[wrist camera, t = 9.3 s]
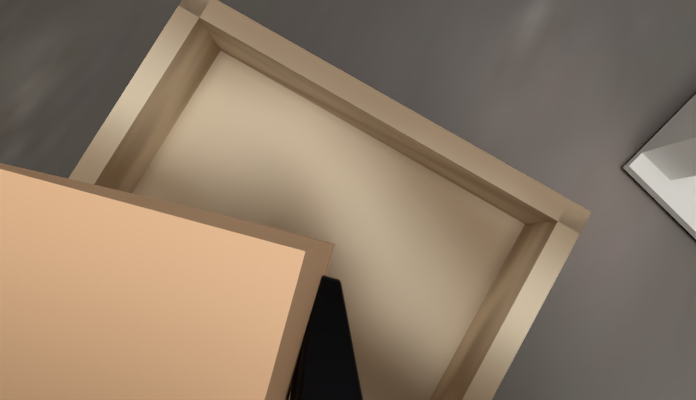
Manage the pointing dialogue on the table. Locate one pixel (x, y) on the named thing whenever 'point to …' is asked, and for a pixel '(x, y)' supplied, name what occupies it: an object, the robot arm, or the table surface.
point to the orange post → (146, 296)
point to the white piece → (671, 166)
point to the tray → (345, 196)
